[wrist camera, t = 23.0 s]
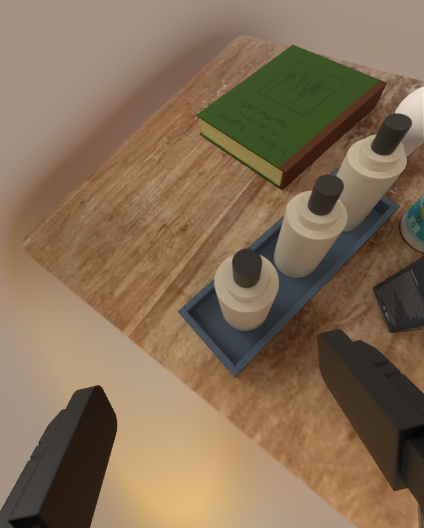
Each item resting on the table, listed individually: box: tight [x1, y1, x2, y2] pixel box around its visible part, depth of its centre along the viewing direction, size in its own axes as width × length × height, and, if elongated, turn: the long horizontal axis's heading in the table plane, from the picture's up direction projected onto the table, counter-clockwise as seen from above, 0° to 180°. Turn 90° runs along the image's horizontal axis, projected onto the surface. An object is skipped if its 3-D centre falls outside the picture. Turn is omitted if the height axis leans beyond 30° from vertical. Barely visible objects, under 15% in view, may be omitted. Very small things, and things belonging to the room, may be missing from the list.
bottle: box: [214, 249, 279, 332], centre depth 25 cm, size 6×6×14 cm
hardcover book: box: [197, 45, 387, 190], centre depth 43 cm, size 25×19×4 cm
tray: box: [178, 169, 400, 377], centre depth 32 cm, size 30×10×3 cm, turn 132°
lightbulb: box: [395, 87, 424, 157], centre depth 33 cm, size 6×6×11 cm
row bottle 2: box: [336, 113, 412, 231], centre depth 29 cm, size 6×6×14 cm
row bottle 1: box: [274, 175, 348, 278], centre depth 27 cm, size 6×6×14 cm
